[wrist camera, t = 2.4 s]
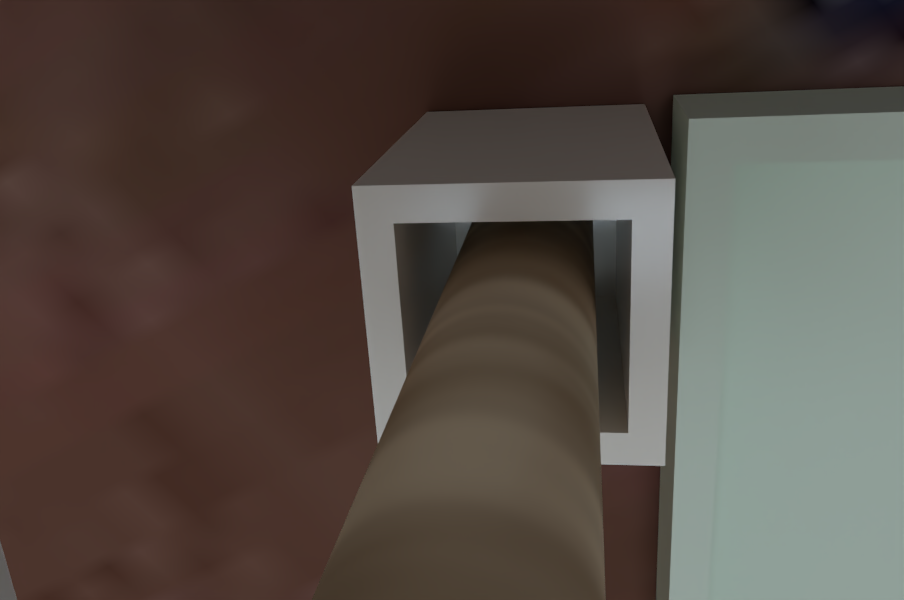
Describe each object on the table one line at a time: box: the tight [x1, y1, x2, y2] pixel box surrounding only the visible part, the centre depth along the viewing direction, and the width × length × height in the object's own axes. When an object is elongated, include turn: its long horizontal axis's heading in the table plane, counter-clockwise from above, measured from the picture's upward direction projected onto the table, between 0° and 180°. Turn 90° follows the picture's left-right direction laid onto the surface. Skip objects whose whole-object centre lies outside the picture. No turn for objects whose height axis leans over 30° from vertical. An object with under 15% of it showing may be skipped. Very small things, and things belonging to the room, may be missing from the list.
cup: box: [352, 104, 675, 466], centre depth 20 cm, size 6×6×8 cm
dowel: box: [312, 220, 605, 600], centre depth 15 cm, size 3×3×17 cm
